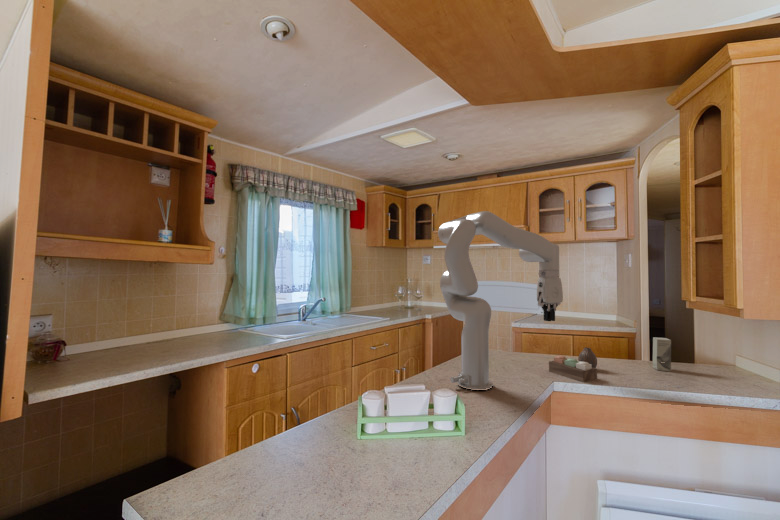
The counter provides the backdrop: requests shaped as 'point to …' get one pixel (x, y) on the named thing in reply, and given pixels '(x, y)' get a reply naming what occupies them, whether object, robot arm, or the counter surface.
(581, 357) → the vase
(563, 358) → the terracotta button
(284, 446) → the counter surface
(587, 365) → the cream button
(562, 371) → the brown tray
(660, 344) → the box
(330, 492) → the counter surface
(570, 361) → the sage button
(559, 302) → the robot arm
